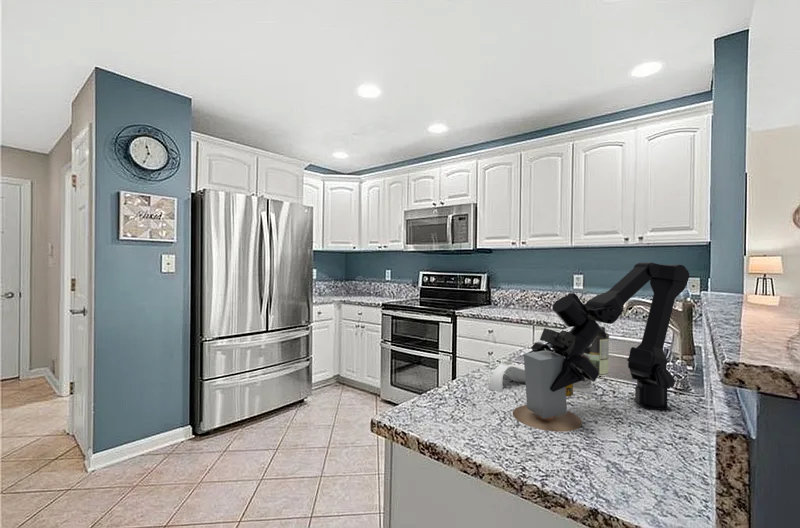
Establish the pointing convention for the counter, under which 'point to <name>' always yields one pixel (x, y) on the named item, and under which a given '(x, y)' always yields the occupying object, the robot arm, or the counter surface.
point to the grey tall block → (544, 384)
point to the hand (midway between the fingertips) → (542, 385)
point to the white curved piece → (511, 371)
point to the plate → (558, 424)
